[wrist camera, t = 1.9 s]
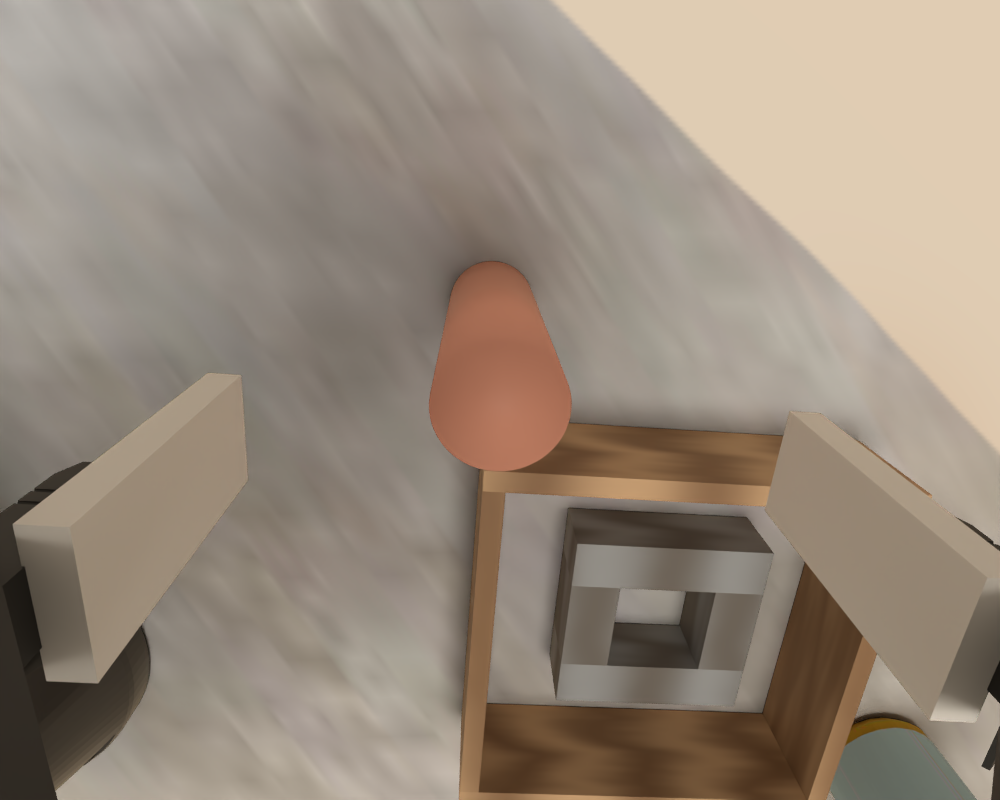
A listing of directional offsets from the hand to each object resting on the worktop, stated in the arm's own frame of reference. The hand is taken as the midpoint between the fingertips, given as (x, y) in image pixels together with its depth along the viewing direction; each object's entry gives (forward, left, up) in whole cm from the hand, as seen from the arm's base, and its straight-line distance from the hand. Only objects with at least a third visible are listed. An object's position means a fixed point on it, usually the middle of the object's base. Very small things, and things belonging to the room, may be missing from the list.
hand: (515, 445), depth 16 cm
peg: (0, 0, -17) cm, 17 cm away
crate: (+10, -16, -17) cm, 25 cm away
